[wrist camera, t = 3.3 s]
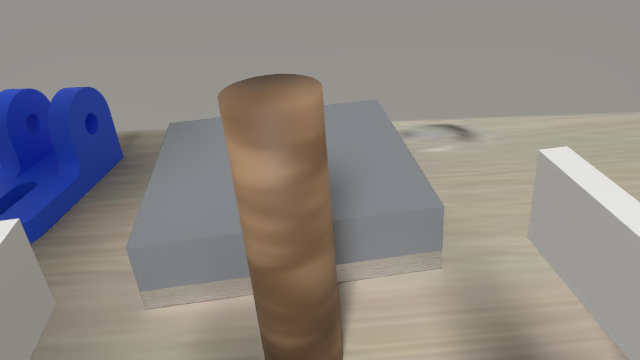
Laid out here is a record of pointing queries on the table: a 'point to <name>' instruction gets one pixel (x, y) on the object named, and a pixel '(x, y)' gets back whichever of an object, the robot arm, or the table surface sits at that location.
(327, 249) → the walnut dowel
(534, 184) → the robot arm
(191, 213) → the socket block
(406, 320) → the table surface
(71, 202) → the bracket
